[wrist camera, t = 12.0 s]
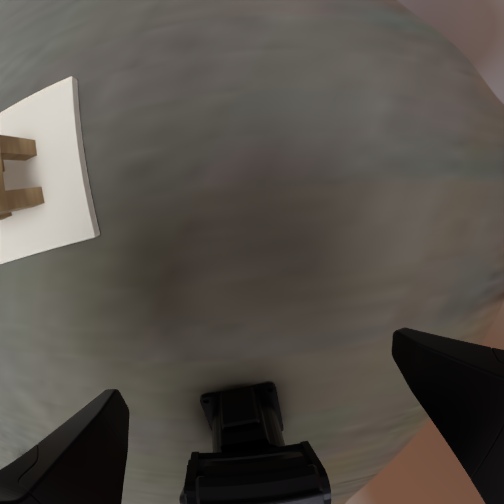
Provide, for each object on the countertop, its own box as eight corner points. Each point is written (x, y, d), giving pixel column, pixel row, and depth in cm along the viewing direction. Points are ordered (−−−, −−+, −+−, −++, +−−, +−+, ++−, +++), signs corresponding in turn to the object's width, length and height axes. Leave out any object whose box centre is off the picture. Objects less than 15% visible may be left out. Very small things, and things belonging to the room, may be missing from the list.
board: (100, 234, 19) (95, 237, 18) (-7, 264, 18) (-13, 268, 18) (77, 79, 16) (72, 76, 15) (-27, 135, 15) (-33, 134, 15)
